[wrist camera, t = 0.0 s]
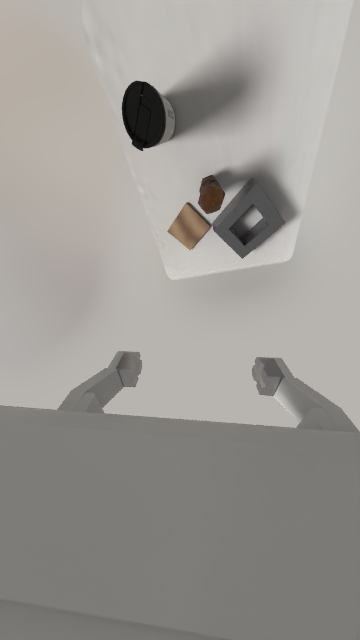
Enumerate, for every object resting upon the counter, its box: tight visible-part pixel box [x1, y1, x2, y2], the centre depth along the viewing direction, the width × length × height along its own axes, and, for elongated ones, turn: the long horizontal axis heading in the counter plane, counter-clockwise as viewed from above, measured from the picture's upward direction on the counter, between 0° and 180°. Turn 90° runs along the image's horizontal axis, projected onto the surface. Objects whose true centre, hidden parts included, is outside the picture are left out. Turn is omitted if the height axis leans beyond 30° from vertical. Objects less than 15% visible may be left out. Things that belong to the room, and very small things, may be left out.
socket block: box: [212, 178, 285, 259], centre depth 47 cm, size 14×14×6 cm
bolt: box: [198, 175, 225, 214], centre depth 38 cm, size 6×5×15 cm
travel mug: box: [122, 81, 175, 151], centre depth 29 cm, size 6×7×20 cm
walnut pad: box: [168, 203, 210, 250], centre depth 52 cm, size 10×10×1 cm
